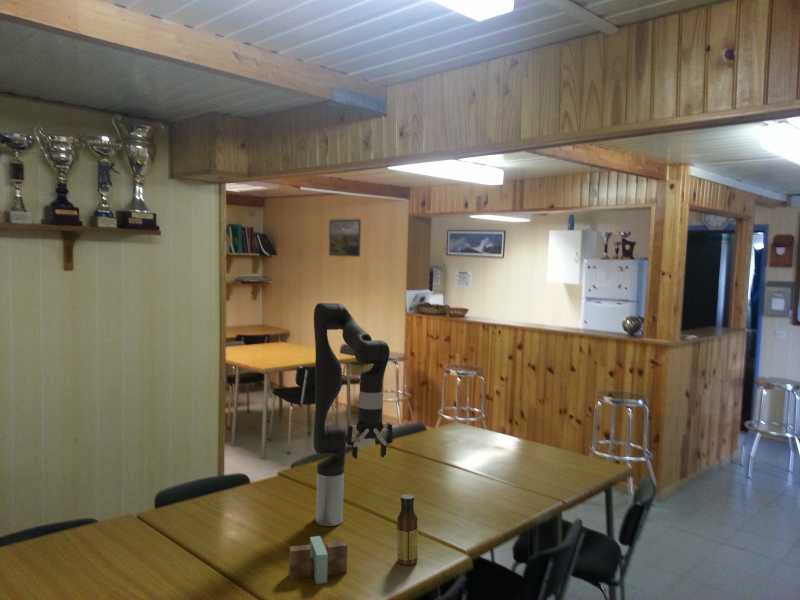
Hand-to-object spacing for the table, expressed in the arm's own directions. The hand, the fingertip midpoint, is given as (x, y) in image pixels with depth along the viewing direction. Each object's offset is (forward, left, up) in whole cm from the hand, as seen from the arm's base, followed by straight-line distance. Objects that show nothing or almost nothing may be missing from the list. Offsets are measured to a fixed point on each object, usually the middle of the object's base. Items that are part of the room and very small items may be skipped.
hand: (368, 457), depth 186 cm
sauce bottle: (+9, +10, -30) cm, 33 cm away
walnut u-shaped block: (+10, -17, -29) cm, 35 cm away
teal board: (+10, -17, -29) cm, 35 cm away
